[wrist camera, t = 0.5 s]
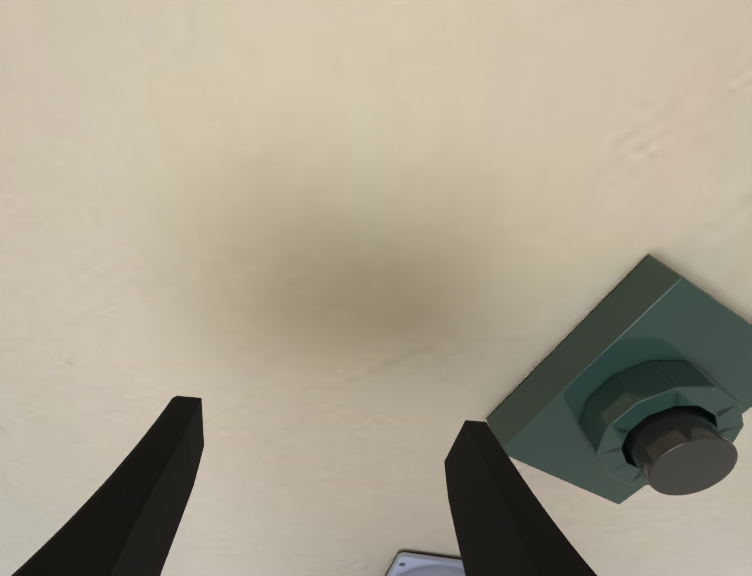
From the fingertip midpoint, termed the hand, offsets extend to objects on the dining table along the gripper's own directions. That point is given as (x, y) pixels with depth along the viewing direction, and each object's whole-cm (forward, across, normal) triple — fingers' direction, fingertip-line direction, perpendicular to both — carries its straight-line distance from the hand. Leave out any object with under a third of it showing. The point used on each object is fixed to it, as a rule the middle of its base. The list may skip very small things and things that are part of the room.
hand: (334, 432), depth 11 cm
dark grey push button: (+5, -17, +5) cm, 19 cm away
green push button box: (+9, -18, +5) cm, 20 cm away
